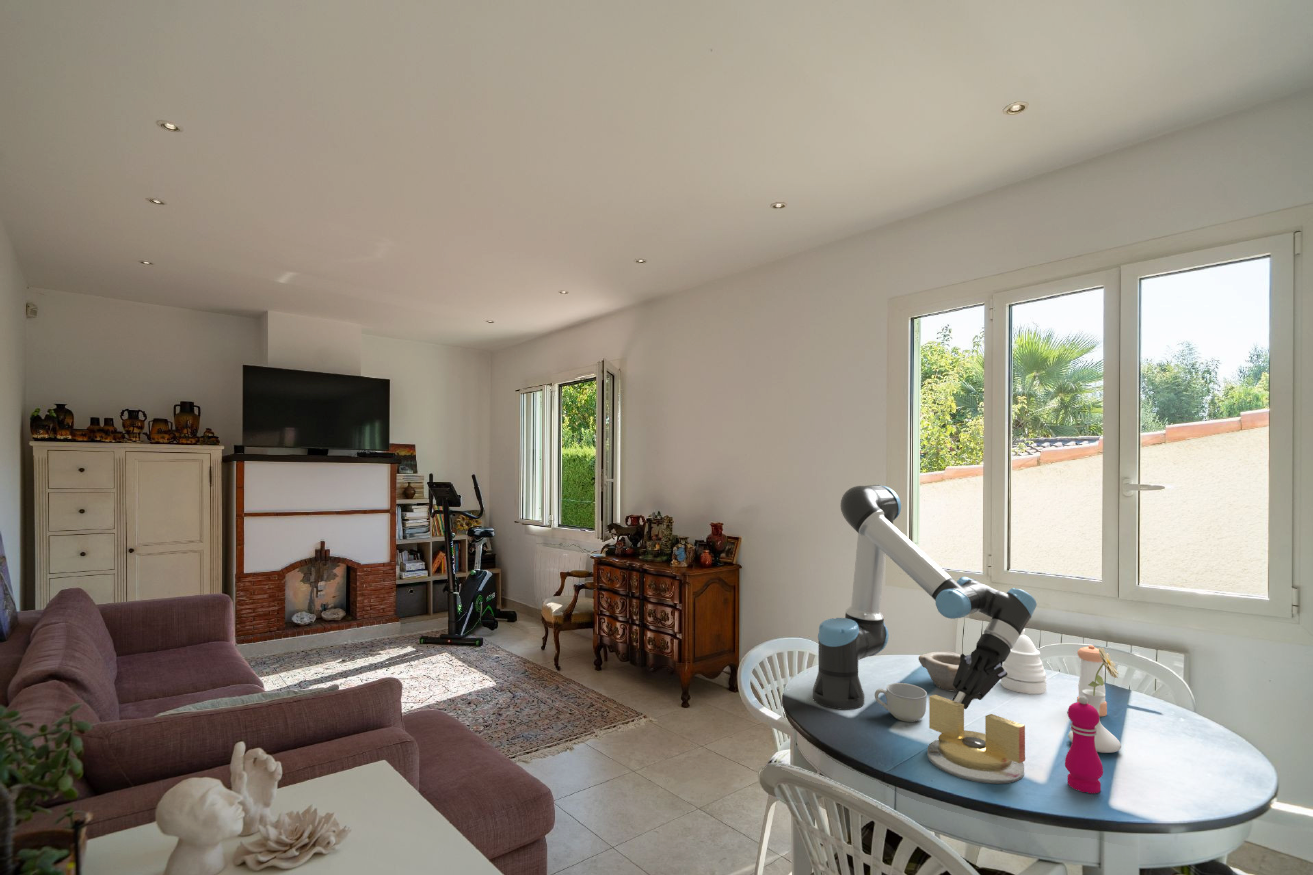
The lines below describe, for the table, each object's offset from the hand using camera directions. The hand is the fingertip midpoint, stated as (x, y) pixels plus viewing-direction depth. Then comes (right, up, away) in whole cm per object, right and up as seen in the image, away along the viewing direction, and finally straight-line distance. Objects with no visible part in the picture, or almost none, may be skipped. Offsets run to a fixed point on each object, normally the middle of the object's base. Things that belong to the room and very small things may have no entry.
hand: (951, 716), depth 169 cm
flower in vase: (+38, -9, +3) cm, 39 cm away
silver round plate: (+2, -8, -7) cm, 11 cm away
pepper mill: (+21, -8, -19) cm, 29 cm away
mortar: (+21, -10, +47) cm, 52 cm away
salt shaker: (+53, -10, +27) cm, 60 cm away
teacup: (-5, -9, +21) cm, 24 cm away
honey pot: (+44, -11, +48) cm, 66 cm away
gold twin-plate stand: (+2, -6, -7) cm, 10 cm away
